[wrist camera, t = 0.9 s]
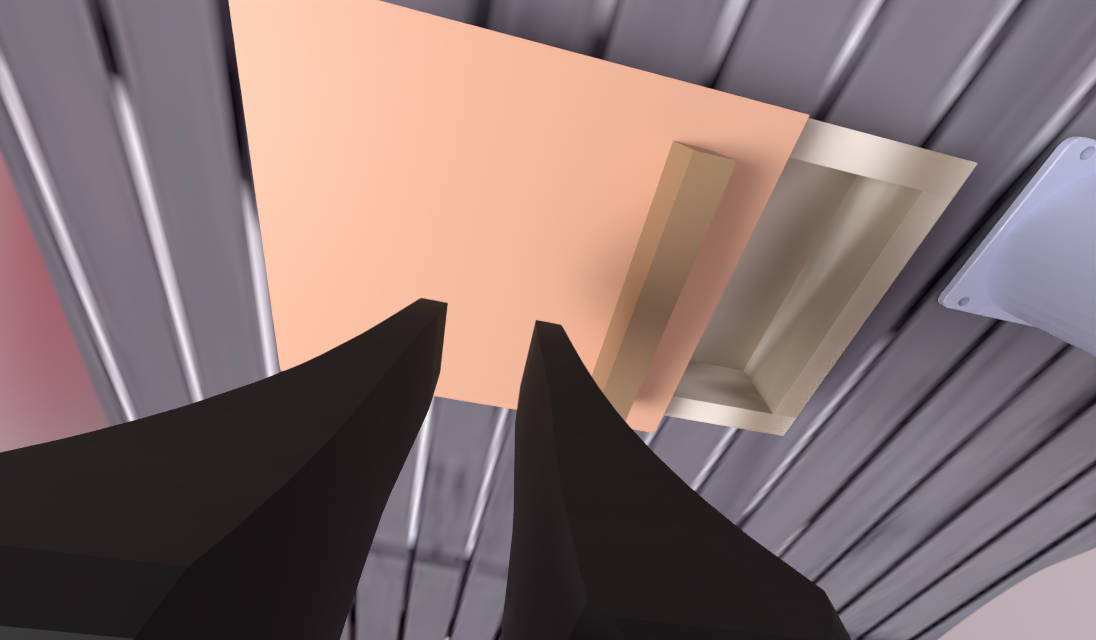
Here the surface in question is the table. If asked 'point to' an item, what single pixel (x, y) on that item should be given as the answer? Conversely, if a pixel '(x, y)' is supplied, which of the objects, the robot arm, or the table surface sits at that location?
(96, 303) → the table surface
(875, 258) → the storage case
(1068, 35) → the table surface
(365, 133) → the sliding lid
